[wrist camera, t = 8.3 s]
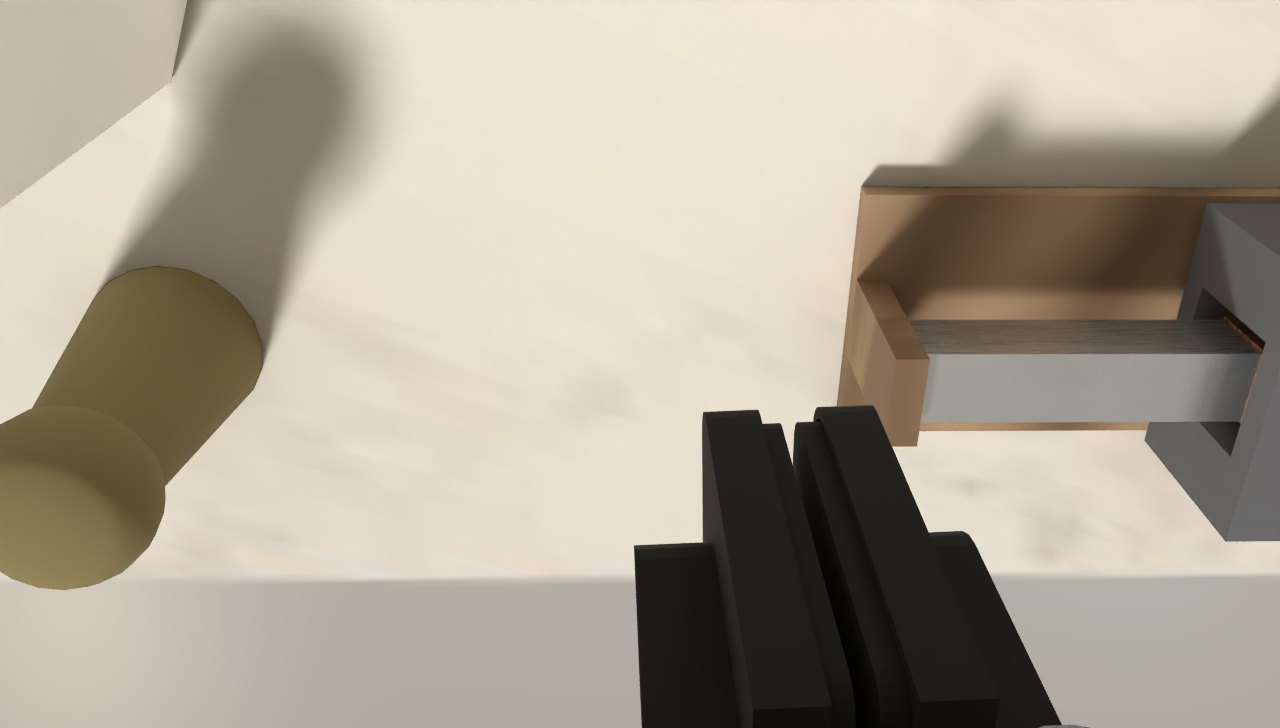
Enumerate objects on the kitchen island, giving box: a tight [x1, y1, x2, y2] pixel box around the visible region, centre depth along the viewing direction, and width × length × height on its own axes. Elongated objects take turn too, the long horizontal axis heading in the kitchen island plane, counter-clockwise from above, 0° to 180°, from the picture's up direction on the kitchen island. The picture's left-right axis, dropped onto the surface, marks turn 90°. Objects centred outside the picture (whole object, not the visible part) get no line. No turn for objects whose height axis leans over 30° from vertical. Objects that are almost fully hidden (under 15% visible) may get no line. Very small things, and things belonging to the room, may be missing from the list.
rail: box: [909, 315, 1266, 424], centre depth 36 cm, size 17×3×3 cm, turn 89°
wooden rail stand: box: [837, 187, 1280, 446], centre depth 37 cm, size 18×9×7 cm, turn 89°
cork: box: [0, 266, 262, 590], centre depth 35 cm, size 6×6×11 cm
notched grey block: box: [1145, 203, 1280, 541], centre depth 36 cm, size 4×9×6 cm, turn 179°
